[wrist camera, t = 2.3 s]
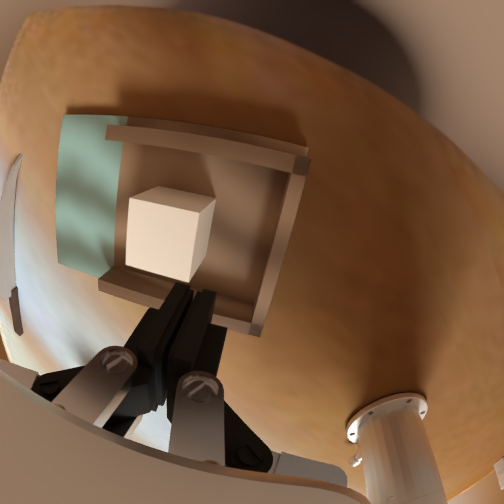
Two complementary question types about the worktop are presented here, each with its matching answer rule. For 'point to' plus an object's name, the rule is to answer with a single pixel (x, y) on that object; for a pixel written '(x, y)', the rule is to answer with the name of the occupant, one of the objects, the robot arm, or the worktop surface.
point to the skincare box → (500, 472)
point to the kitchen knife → (9, 246)
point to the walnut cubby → (185, 179)
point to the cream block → (168, 231)
